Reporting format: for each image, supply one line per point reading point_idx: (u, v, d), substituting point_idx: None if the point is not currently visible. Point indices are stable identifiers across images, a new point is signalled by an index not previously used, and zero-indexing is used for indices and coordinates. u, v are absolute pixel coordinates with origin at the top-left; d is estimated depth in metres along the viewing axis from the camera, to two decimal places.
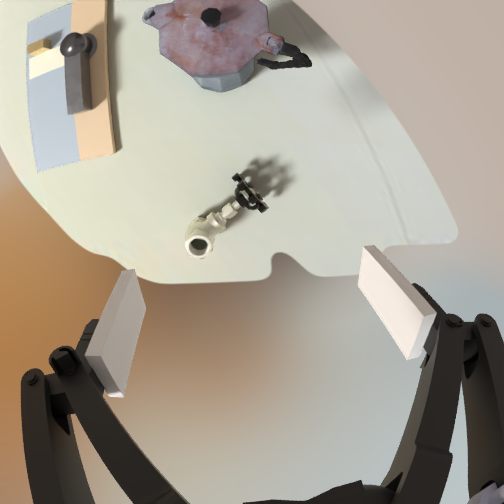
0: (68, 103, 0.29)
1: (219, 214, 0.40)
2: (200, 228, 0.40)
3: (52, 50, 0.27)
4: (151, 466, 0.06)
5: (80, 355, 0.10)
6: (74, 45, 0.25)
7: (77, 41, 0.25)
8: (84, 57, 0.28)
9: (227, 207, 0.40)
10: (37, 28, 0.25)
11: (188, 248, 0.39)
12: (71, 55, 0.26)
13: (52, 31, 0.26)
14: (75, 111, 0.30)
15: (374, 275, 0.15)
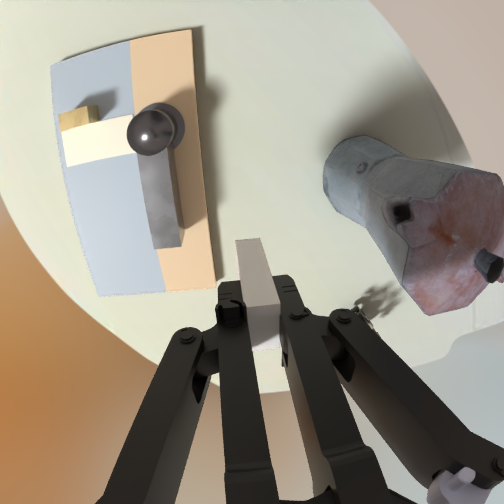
0: (153, 232, 0.24)
1: None
2: None
3: (103, 123, 0.23)
4: (265, 438, 0.07)
5: None
6: (155, 136, 0.20)
7: (161, 130, 0.20)
8: (170, 154, 0.23)
9: None
10: (69, 78, 0.20)
11: None
12: (151, 154, 0.21)
13: (98, 88, 0.21)
14: (167, 246, 0.25)
15: None
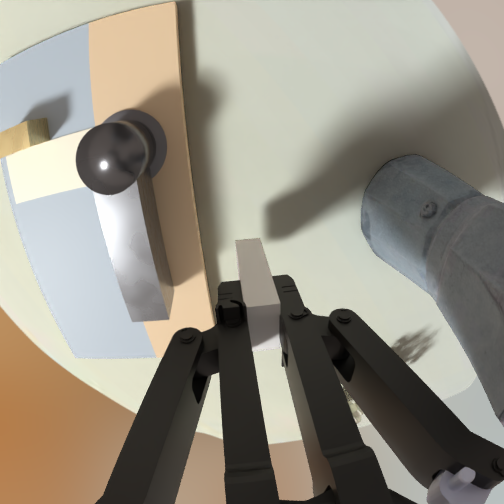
0: (129, 301, 0.17)
1: (358, 409, 0.28)
2: None
3: (54, 142, 0.15)
4: (265, 438, 0.07)
5: None
6: (118, 165, 0.13)
7: (125, 154, 0.13)
8: (145, 189, 0.15)
9: None
10: (12, 83, 0.12)
11: None
12: (114, 192, 0.13)
13: (46, 94, 0.13)
14: (149, 319, 0.17)
15: None
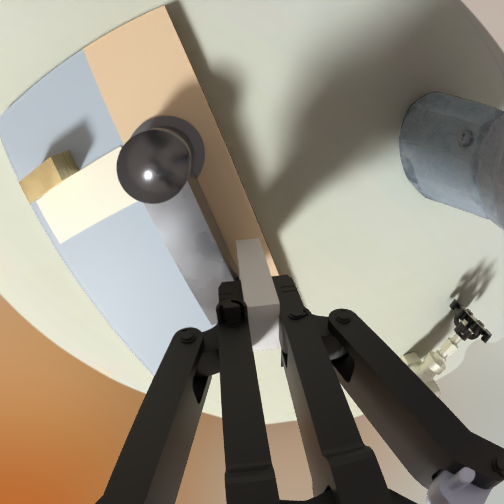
0: (205, 305, 0.17)
1: (441, 356, 0.26)
2: (423, 380, 0.26)
3: (84, 171, 0.16)
4: (265, 438, 0.07)
5: None
6: (165, 170, 0.13)
7: (170, 157, 0.13)
8: (196, 188, 0.15)
9: (450, 347, 0.25)
10: (21, 129, 0.14)
11: None
12: (166, 198, 0.14)
13: (61, 127, 0.14)
14: None
15: None
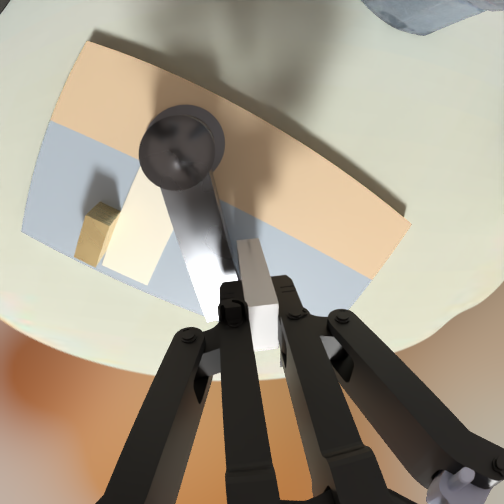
0: (204, 301, 0.17)
1: None
2: None
3: (126, 208, 0.17)
4: (266, 438, 0.07)
5: None
6: (189, 158, 0.13)
7: (196, 146, 0.13)
8: (213, 182, 0.15)
9: None
10: (48, 218, 0.17)
11: None
12: (185, 186, 0.14)
13: (80, 189, 0.16)
14: None
15: None
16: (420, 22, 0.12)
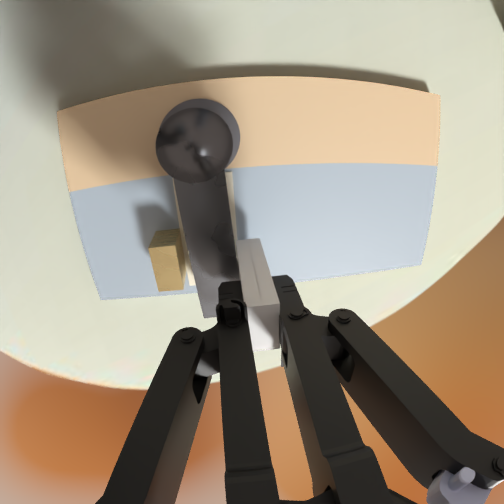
0: (203, 296, 0.17)
1: None
2: None
3: None
4: (265, 438, 0.07)
5: None
6: (206, 151, 0.13)
7: (215, 140, 0.13)
8: None
9: None
10: (118, 273, 0.19)
11: None
12: (199, 180, 0.14)
13: (132, 231, 0.18)
14: None
15: None
16: None
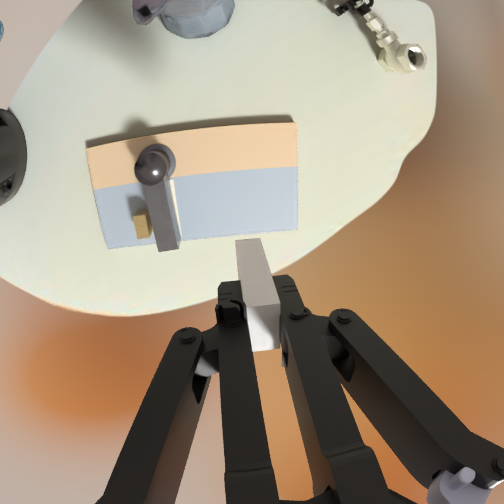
0: (157, 239, 0.34)
1: (379, 33, 0.26)
2: (395, 53, 0.26)
3: None
4: (265, 438, 0.07)
5: None
6: (155, 172, 0.30)
7: (158, 167, 0.30)
8: (166, 183, 0.32)
9: (371, 24, 0.25)
10: (117, 233, 0.37)
11: (417, 67, 0.25)
12: (152, 184, 0.31)
13: (126, 209, 0.35)
14: (168, 249, 0.35)
15: None
16: (212, 27, 0.25)
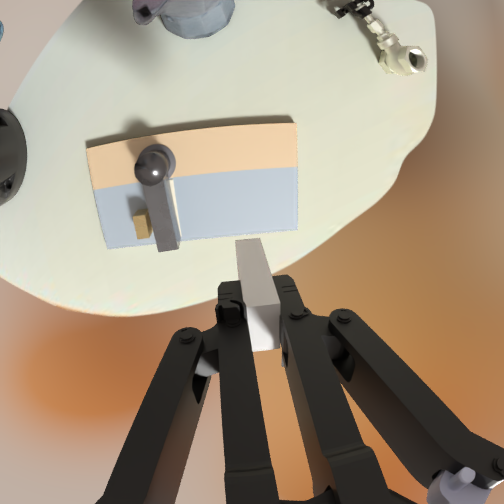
0: (157, 240, 0.34)
1: (380, 35, 0.26)
2: (396, 55, 0.26)
3: None
4: (265, 438, 0.07)
5: None
6: (155, 172, 0.30)
7: (158, 167, 0.30)
8: (166, 183, 0.32)
9: (372, 26, 0.25)
10: (117, 233, 0.37)
11: (418, 69, 0.26)
12: (152, 184, 0.31)
13: (125, 210, 0.35)
14: (168, 249, 0.35)
15: None
16: (212, 27, 0.25)
